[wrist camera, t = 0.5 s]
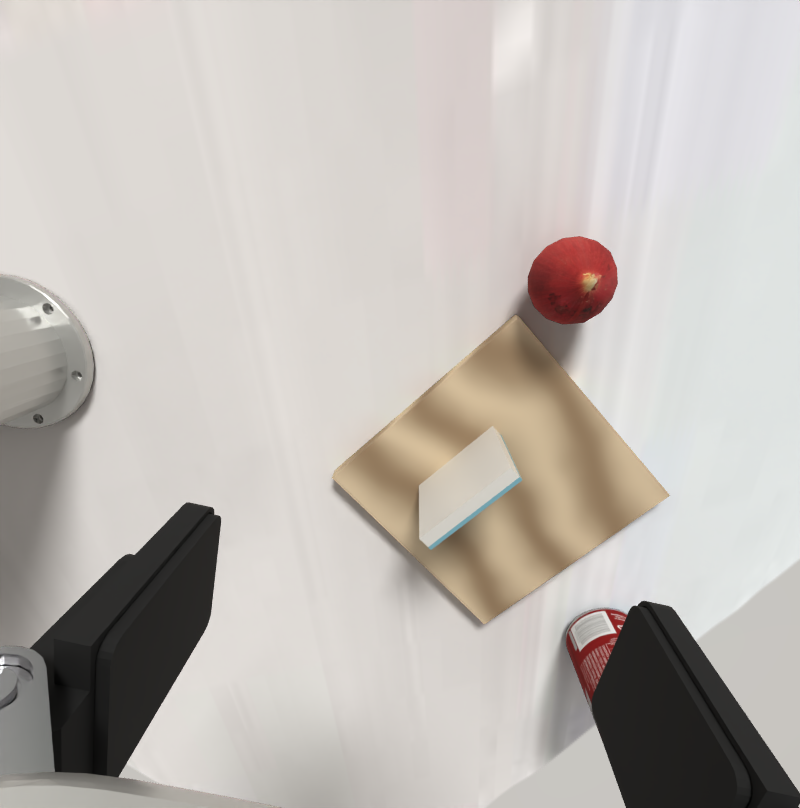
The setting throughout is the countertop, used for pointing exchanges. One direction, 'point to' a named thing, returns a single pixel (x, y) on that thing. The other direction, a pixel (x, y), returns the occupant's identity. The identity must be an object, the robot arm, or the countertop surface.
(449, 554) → the board
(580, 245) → the onion
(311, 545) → the countertop surface
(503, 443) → the tile
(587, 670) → the soda can
